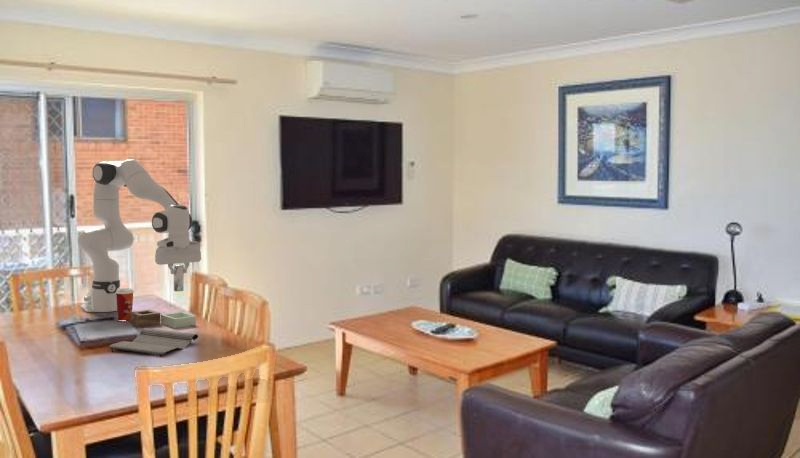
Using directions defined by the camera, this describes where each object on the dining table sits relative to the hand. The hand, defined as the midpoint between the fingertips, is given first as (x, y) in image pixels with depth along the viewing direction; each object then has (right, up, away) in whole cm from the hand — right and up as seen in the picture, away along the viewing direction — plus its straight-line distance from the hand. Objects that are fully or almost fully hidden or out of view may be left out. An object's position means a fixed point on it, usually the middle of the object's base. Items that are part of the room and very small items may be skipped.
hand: (178, 273), depth 290 cm
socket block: (-15, -22, 0) cm, 27 cm away
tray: (-1, -23, +2) cm, 23 cm away
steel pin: (0, -8, +1) cm, 8 cm away
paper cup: (-26, -22, +6) cm, 34 cm away
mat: (+3, -26, -37) cm, 46 cm away
